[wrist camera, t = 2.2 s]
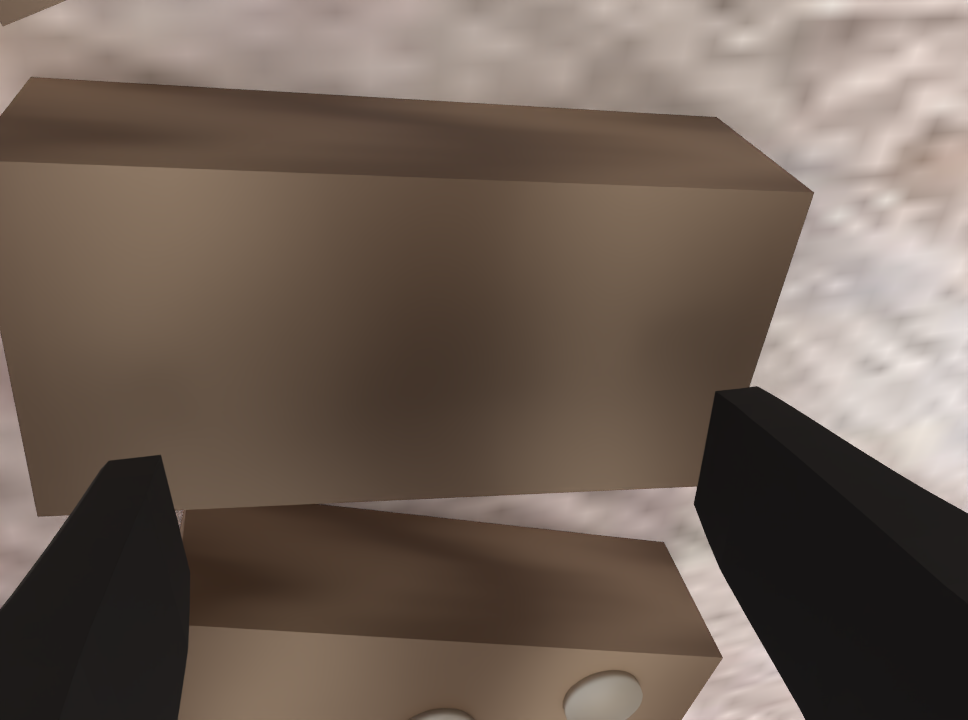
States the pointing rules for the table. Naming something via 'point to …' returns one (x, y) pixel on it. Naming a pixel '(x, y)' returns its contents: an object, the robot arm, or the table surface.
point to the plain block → (376, 291)
